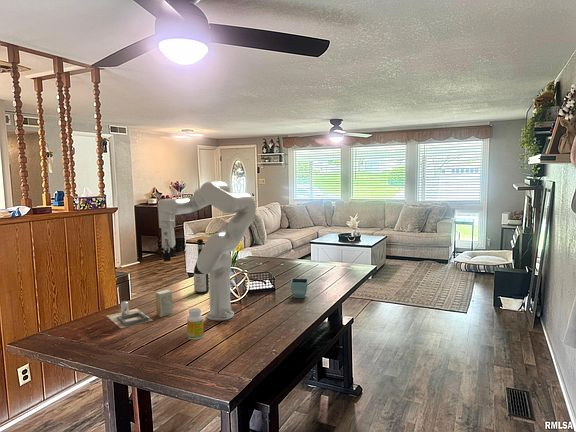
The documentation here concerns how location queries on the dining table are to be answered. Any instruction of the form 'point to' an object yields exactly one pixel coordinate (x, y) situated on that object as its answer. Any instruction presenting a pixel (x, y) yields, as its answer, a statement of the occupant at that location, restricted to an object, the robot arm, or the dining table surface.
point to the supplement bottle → (195, 324)
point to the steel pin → (124, 308)
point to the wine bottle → (200, 275)
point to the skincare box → (164, 303)
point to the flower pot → (299, 287)
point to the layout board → (129, 318)
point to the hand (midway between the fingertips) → (169, 258)
